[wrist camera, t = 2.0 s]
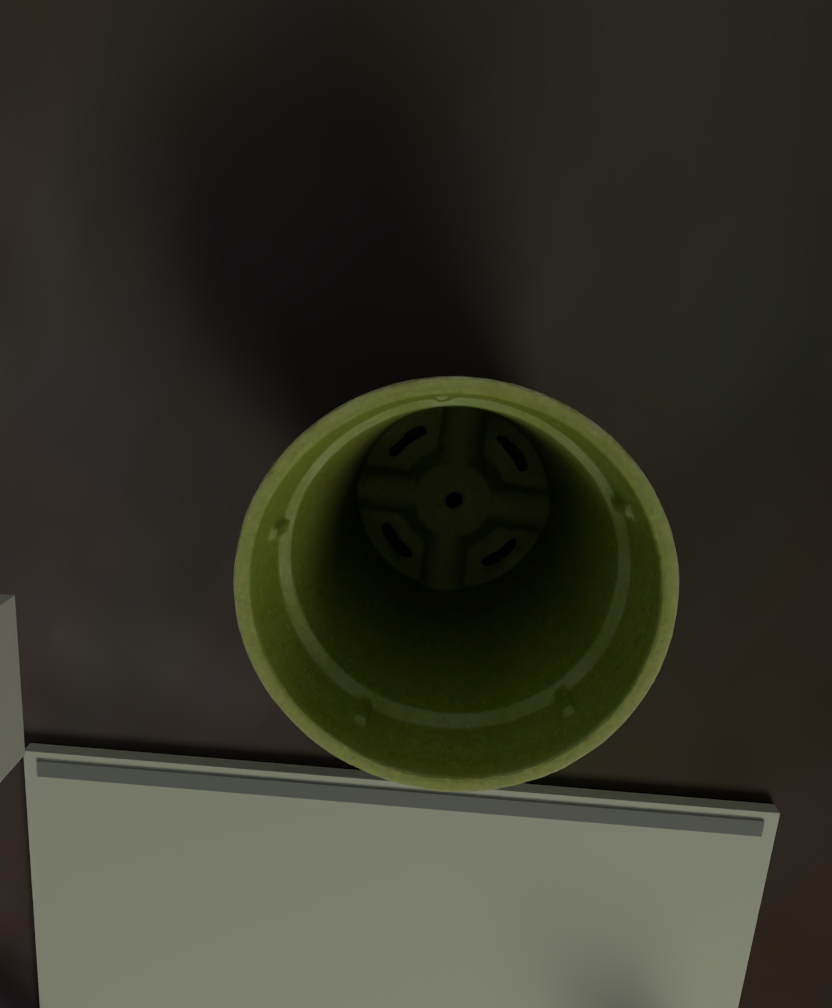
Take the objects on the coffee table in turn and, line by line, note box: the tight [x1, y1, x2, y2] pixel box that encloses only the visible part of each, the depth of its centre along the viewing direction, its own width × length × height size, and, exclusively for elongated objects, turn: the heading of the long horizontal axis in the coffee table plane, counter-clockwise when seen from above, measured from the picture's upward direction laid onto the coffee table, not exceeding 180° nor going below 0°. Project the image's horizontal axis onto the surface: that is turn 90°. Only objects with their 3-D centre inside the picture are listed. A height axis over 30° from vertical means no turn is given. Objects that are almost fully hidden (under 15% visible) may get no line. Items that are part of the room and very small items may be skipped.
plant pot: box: [233, 376, 679, 792], centre depth 21 cm, size 9×9×9 cm
